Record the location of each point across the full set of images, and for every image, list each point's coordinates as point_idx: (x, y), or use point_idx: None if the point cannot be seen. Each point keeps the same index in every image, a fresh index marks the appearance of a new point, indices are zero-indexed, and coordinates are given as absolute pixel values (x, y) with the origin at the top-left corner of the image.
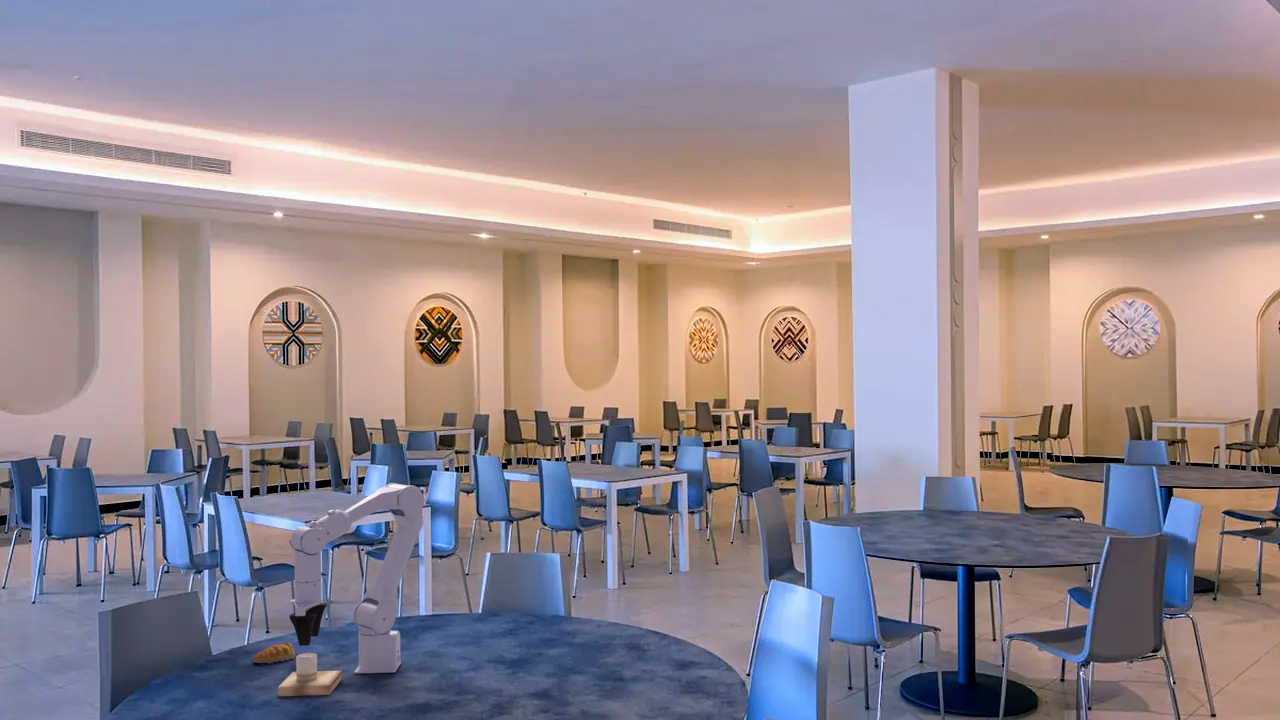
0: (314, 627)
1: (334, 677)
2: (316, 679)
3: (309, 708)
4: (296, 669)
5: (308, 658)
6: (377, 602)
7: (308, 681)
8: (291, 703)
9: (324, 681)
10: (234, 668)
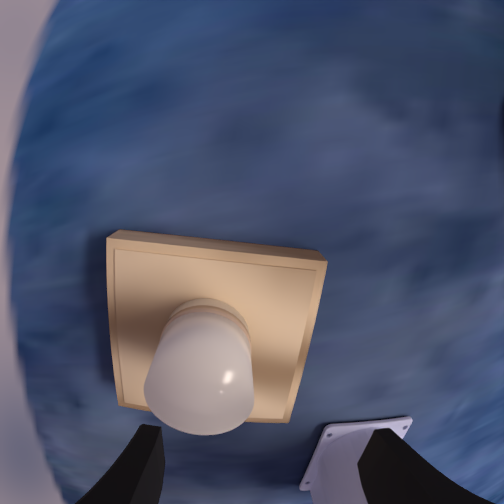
0: (380, 493)
1: None
2: None
3: (19, 340)
4: (184, 321)
5: (150, 408)
6: None
7: None
8: (49, 288)
9: None
10: (489, 42)
